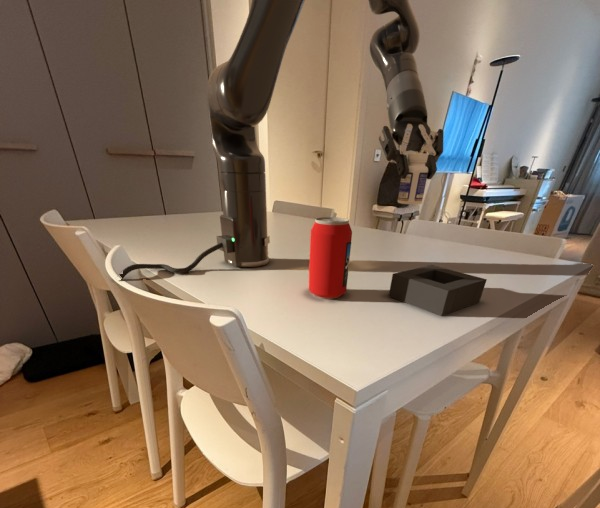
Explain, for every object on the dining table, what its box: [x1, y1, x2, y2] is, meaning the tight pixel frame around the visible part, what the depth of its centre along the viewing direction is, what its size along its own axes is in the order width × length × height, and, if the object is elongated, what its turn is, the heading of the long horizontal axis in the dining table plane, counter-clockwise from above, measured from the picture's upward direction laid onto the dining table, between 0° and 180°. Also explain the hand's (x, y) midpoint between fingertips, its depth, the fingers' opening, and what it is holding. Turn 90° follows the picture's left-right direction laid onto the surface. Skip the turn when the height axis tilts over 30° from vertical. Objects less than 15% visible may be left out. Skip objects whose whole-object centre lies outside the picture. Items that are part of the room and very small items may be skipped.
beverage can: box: [308, 216, 353, 300], centre depth 57 cm, size 7×7×12 cm
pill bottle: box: [397, 152, 429, 205], centre depth 71 cm, size 5×5×9 cm
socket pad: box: [388, 264, 488, 317], centre depth 58 cm, size 11×11×4 cm
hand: (418, 175), depth 69 cm, fingers closed on pill bottle, 5 cm apart
